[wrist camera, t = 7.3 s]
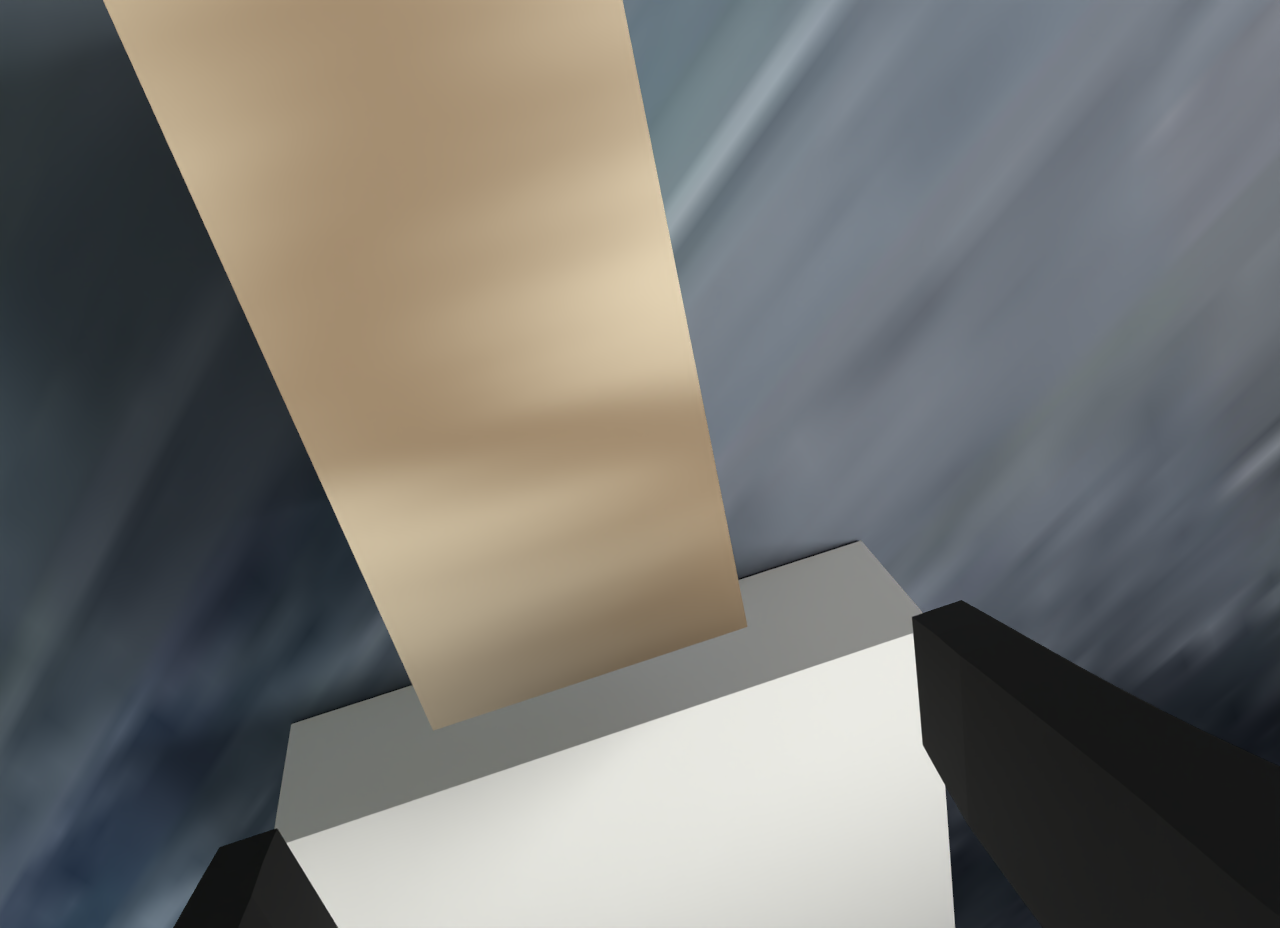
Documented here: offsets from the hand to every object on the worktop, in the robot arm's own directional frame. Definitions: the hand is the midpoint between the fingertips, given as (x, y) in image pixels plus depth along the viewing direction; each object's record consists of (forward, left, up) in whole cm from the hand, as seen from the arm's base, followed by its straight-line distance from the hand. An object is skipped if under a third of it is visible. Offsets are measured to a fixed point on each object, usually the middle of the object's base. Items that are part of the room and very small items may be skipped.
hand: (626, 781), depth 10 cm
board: (0, +7, -5) cm, 9 cm away
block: (0, -2, -2) cm, 3 cm away
